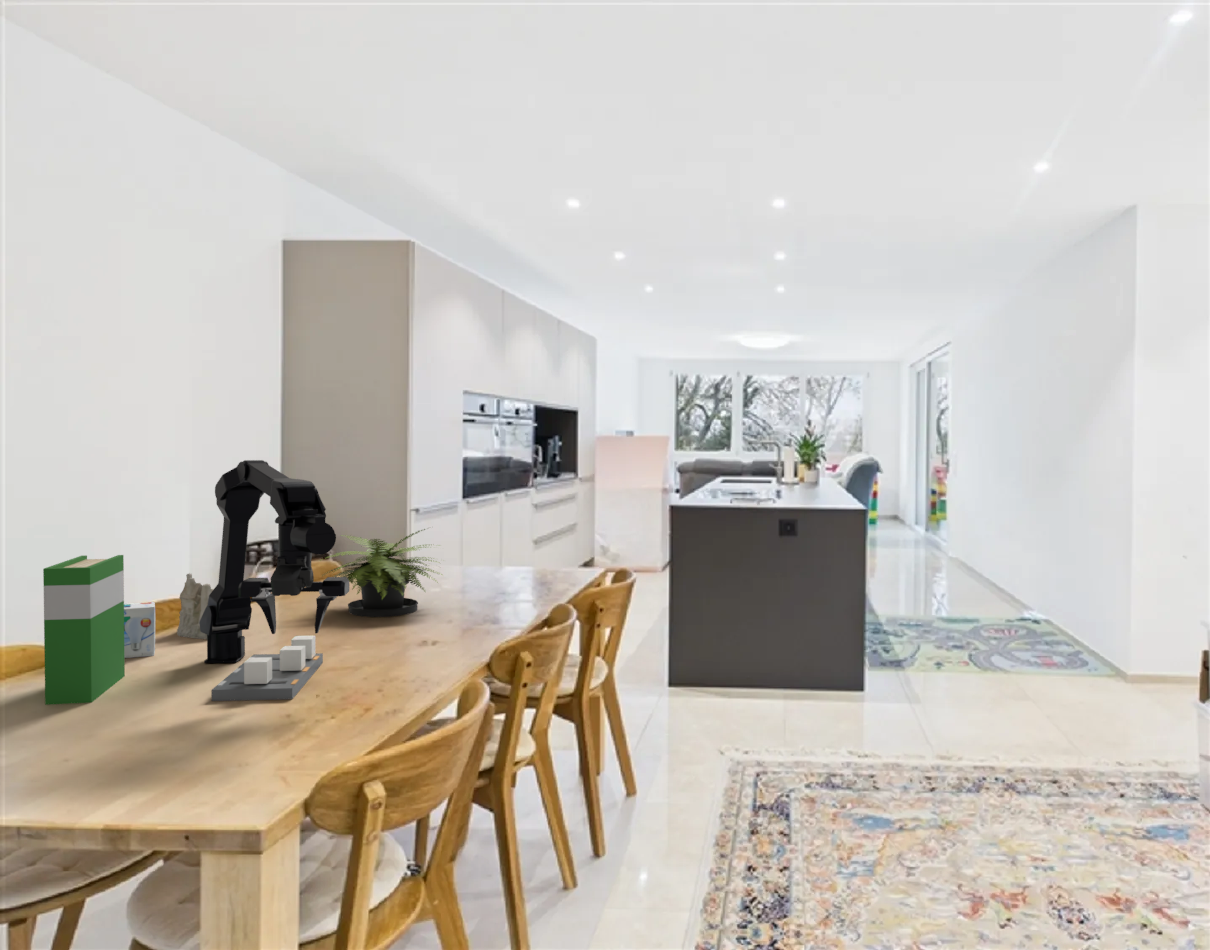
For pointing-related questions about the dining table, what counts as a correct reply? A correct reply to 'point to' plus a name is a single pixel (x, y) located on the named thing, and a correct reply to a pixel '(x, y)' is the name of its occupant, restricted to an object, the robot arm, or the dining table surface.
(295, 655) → the handle mid
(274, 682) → the breaker panel
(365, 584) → the fern plant
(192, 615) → the grey rough lump
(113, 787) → the dining table surface
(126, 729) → the dining table surface
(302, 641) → the handle far
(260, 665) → the handle
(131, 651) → the light bulb box
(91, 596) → the hardback book
